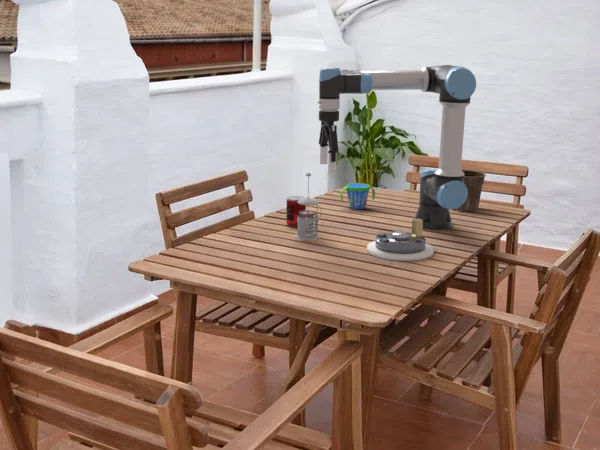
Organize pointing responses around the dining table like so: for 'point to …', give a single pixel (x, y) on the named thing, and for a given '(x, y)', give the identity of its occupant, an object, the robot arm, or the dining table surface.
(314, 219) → the french press
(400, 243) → the grey round piece
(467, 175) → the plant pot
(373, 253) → the housing plate
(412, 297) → the dining table surface
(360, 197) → the snack cup
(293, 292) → the dining table surface
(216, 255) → the dining table surface
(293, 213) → the canned food
